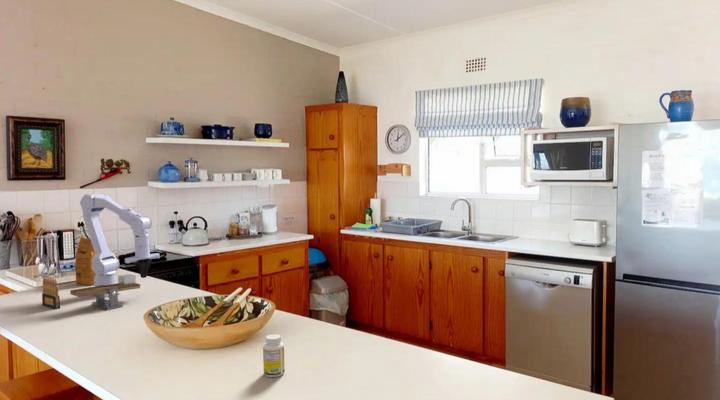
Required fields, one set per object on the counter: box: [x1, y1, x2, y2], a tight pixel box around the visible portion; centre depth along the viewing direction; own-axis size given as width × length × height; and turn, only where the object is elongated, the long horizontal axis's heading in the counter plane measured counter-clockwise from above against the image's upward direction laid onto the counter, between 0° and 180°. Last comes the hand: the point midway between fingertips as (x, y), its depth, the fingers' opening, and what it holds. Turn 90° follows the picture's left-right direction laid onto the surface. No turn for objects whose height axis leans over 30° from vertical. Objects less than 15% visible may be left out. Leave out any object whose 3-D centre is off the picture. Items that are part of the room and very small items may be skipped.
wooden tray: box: [69, 282, 141, 298], centre depth 208 cm, size 9×24×2 cm, turn 142°
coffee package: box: [74, 236, 104, 286], centre depth 248 cm, size 10×12×22 cm
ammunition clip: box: [41, 276, 61, 310], centre depth 208 cm, size 11×2×12 cm, turn 56°
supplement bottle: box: [262, 333, 286, 378], centre depth 140 cm, size 6×6×10 cm
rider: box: [117, 273, 137, 286], centre depth 215 cm, size 4×5×4 cm
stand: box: [91, 285, 124, 311], centre depth 208 cm, size 13×6×8 cm, turn 52°
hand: (143, 277), depth 220 cm, fingers closed
